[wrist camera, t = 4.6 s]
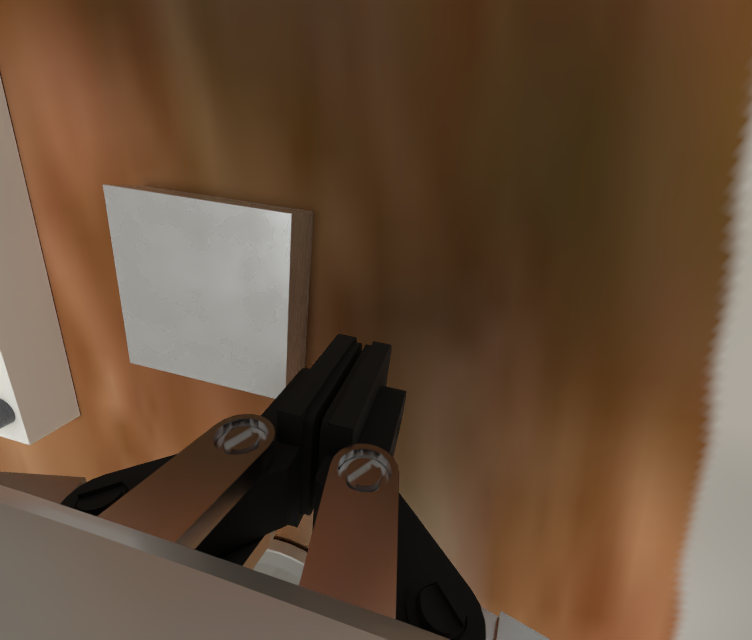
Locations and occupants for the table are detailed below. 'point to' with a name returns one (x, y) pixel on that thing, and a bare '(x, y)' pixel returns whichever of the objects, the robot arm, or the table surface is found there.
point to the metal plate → (212, 285)
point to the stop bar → (27, 314)
